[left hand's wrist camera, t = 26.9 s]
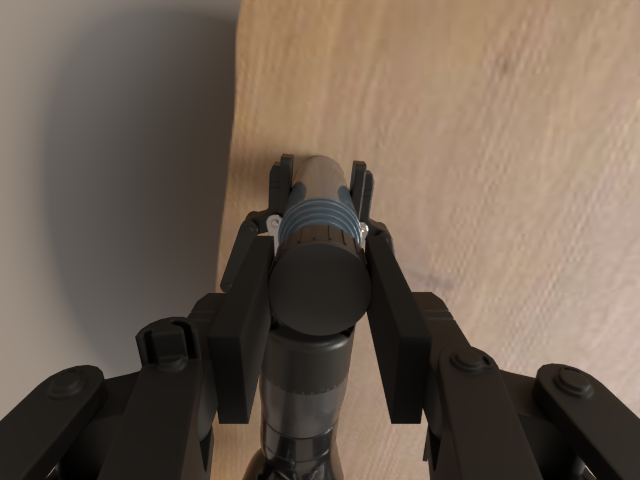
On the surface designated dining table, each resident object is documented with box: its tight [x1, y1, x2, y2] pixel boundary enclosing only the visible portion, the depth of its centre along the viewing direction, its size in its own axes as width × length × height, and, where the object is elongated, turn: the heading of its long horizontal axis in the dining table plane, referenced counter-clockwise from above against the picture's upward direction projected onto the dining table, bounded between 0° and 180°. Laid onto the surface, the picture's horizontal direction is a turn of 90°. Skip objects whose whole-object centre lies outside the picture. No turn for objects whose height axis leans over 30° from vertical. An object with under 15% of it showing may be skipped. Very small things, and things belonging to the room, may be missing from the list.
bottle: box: [278, 156, 362, 247], centre depth 22 cm, size 4×4×18 cm
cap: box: [268, 224, 372, 336], centre depth 14 cm, size 4×4×2 cm
